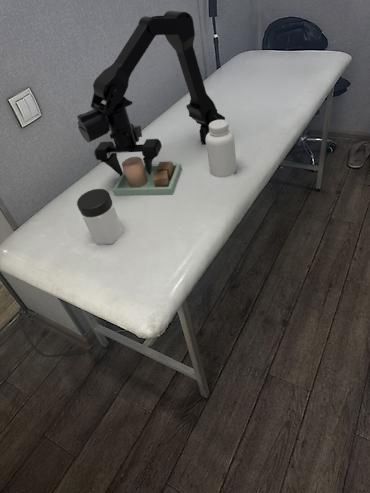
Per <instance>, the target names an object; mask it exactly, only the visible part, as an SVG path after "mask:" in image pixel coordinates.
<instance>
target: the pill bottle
mask: <svg viewBox="0 0 370 493" xmlns="http://www.w3.org/2000/svg"><path fill="white" fill-rule="evenodd" d="M229 128H230V127H229V122H228V120H226V119H225V120H215V121H212V122H211V123H210V124H209V133H208V134H207V135H206V139H205V140H206V145H205V146H206V153H207V161H208V167H209V168H208V169H209V172H210V174H211V176H213V177H215V178H226V177H227V178H228V177H229V176H232V175H234V174H235V173H236V171H237V158H236V157H237V155H236V145H235V144H236V143H235V135H234V133H233V131H232V130H231V129H229Z"/></svg>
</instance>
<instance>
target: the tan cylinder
mask: <svg viewBox="0 0 370 493" xmlns="http://www.w3.org/2000/svg"><path fill="white" fill-rule="evenodd" d="M144 165H145V164H144V161H143V158H141V157H140V156H132V157H129V158H127V159H125V160H124V161H122V163H121V166H122V167H121V168H122V171H123V170H124V173H125V176H126V178H127V181H128V184H129V186H130V187H131V188H139V187H142V186H144V185H145V184H146V183H147V182H148V179H147V176H146V172H145V169H144Z"/></svg>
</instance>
